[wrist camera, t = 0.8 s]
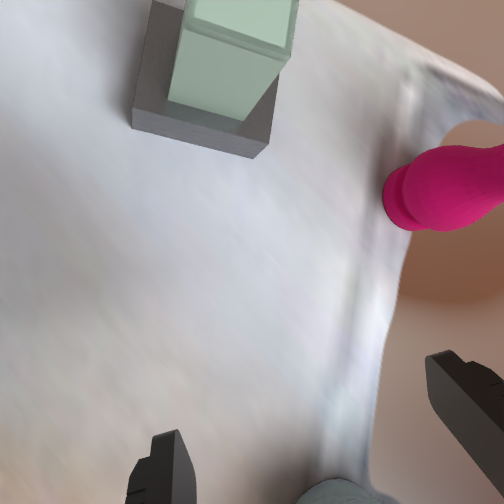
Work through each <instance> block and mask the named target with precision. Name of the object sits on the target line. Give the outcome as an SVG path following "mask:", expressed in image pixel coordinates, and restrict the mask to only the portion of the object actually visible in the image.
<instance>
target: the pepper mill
mask: <svg viewBox="0 0 504 504" xmlns="http://www.w3.org/2000/svg"><path fill="white" fill-rule="evenodd" d="M502 202H504V144H502V145H499V146H495V147H492V148H485V149H483V148H474V147H467V146H460V145H457V146H456V145H453V146H442V147H437V148H434V149H430V150H428V151H426V152H424V153H422V154H421V155H419V156H418V157H417V158H416V159H415V160H414V161H413V162H412V163H411V164H408V165H406V166H403V167H401V168H398V169H397V170H395V171H394V172H393V173H392V174H391V175H390V176H389V177H388V179H387V181H386V183H385V186H384V191H383V203H384V206H385V209H386V212H387V214H388V216H389V217H390V219H391V220H392V221H393V222H394V223H395V224H396V225H397V226H399V227H400V228H402V229H405V230H408V231H418V230H424V229H432V230H435V231H444V232H447V231H453V230H456V229H460V228H463V227H466V226H468V225H470V224H472V223H473V222H475V221H477V220H479V219H480V218H482V217H483V216H484V215H485V214H487V213H488V212H489V211H491V210H492V209H493V208H495V207H496V206H497V205H499V204H500V203H502Z"/></svg>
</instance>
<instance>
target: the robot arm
mask: <svg viewBox="0 0 504 504" xmlns="http://www.w3.org/2000/svg"><path fill="white" fill-rule="evenodd" d="M425 368H426V378H427V388H428V397H429V400H430V403H431V405H432V407H433V409H434V411H435V412H436V414H437V415H438V416H439V418H440V419H441V420H442V421H443V423H444V424H445V425H446V426H447V427H448V429H449V430H450V431H451V433H452V434H453V435H454V436H455V438H456V439H457V440H458V441H459V443H460V444H461V445H462V446H463V447H464V449H465V450H466V451H467V453H468V454H469V455H470V456H471V457H472V459H473V460H474V461H475V463H476V464H477V465H478V466H479V468H480V469H481V470H482V471H483V472H484V474H485V475H486V476H487V478H488V479H489V480H490V481H491V483H492V484H493V485H494V486H495V487H496V489H497V490H498V491H499V492H500V494H501V495H502V496H503V498H504V380H503V379H502V378H500V377H499V376H498V375H497V374H496V373H495V372H493V371H492V370H491V369H489V368H487V367H485V366H483V365H481V364H478V363H476V362H474V361H471V362H467V363H465V362H464V361H463V360H462V359H461V358H460V357H459V356H458V355H456V354H455V353H454V352H453V351H451V350H446V351H443V352H439V353H436V354H433V355H429V356H426V358H425ZM125 504H197V492H196V477H195V472H194V468H193V464H192V462H191V459H190V457H189V454H188V452H187V449H186V447H185V444H184V442H183V439H182V437H181V434H180V432H179V430H178V429H176V430H172V431H169V432H166V433H162V434H159V435H155V436H153V438H152V444H151V452H150V456H149V457H146V458H142V459H139V460H138V462H137V464H136V466H135V468H134V469H133V471H132V473H131V475H130V477H129V483H128V489H127V497H126V501H125Z"/></svg>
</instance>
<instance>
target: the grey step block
mask: <svg viewBox="0 0 504 504" xmlns="http://www.w3.org/2000/svg"><path fill="white" fill-rule="evenodd" d="M183 14H184V11H183V10H180V9H177V8H174V7H171V6H168V5H165V4H163V3H160V2H157V1H154V0H153V1H152V6H151V12H150V17H149V22H148V27H147V32H146V38H145V43H144V48H143V53H142V59H141V64H140V69H139V74H138V79H137V85H136V90H135V95H134V100H133V106H132V129H136V130H140V131H144V132H148V133H152V134H156V135H160V136H164V137H168V138H172V139H176V140H180V141H184V142H188V143H192V144H196V145H200V146H203V147H207V148H211V149H215V150H219V151H223V152H227V153H231V154H235V155H239V156H243V157H247V158H251V159H254V158H255V157H256V156H257V155H258V154H259V153H260V152H261V151H262V150H263V149H264V148H265V147H266V146H267V145H268V144H269V139H270V133H271V126H272V119H273V113H274V106H275V100H276V93H277V86H278V80H279V74H278V75H277V77H276V78H275V79H274V81H273V82H272V83H271V85H270V86H269V87H268V89H267V90H266V91H265V93H264V94H263V95H262V97H261V98H260V99H259V101H258V102H257V104H256V105H255V106H254V108H253V109H252V110H251V112H250V113H249V114H248V116H247V117H246V118H245V120H244V121H241V120H237V119H234V118H230V117H227V116H223V115H219V114H216V113H212V112H209V111H205V110H202V109H198V108H194V107H191V106H187V105H184V104H180V103H177V102H173V101H169V100H168V95H169V89H170V84H171V78H172V73H173V67H174V62H175V56H176V51H177V45H178V40H179V34H180V29H181V24H182V19H183ZM279 73H280V72H279Z"/></svg>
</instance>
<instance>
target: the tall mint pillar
mask: <svg viewBox="0 0 504 504" xmlns="http://www.w3.org/2000/svg"><path fill="white" fill-rule="evenodd" d="M298 4H299V0H186V4H185V9H184V14H183V19H182V24H181V29H180V34H179V40H178V45H177V51H176V56H175V62H174V67H173V73H172V78H171V84H170V89H169V95H168V100H169V101H173V102H177V103H180V104H184V105H187V106H191V107H194V108H198V109H202V110H205V111H209V112H212V113H216V114H219V115H223V116H227V117H230V118H234V119H237V120H241V121H244V120H245V118H246V117H247V116H248V114H249V113H250V112H251V110H252V109H253V108H254V106H255V105H256V104H257V102H258V101H259V99H260V98H261V97H262V95H263V94H264V93H265V91H266V90H267V89H268V87H269V86H270V85H271V83H272V82H273V81H274V79H275V78H276V77H277V75H278V74H279V72H280V71H281V70H282V68H283V67H284V66H285V64H286V63H287V62H288V60H289V59H290V58H291V51H292V44H293V38H294V31H295V24H296V17H297V11H298Z"/></svg>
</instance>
